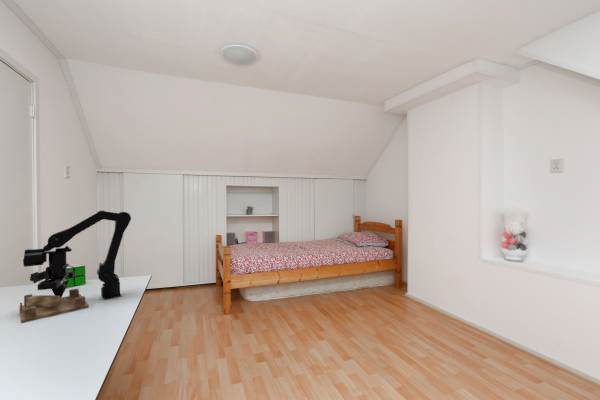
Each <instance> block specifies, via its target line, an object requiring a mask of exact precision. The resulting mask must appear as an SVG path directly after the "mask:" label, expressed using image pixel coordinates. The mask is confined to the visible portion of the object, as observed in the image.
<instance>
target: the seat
mask: <svg viewBox="0 0 600 400" xmlns="http://www.w3.org/2000/svg"><path fill="white" fill-rule="evenodd" d="M79 290H80V289H79V288H72V289H69V290H68V291H69V292H68V293H69V294H68V296H62V297H61V299H60V304H59V305H57V306H54V307H39V306H24V304H23V303H22V302H19V314H20V315H19V317H20V322H21V324H23V323H27V322H33V321H37V320H39V319H40V320H41V319H44V318H45V319H46V318H49V317H54V316H58V315H59V316H60V315H63V314H67V313H72V312H76V311H79V310H80V311H81V310H83V309H89V308H90V305H89V303H88V302H87V301H86V297H85V295H82V294H80V291H79Z"/></svg>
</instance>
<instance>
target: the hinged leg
mask: <svg viewBox="0 0 600 400" xmlns="http://www.w3.org/2000/svg"><path fill="white" fill-rule="evenodd" d="M59 304H60V295H54V294H53V295H49V294H48V295H47V294H46V295H45V294H44V295H41V294H40V295H39V294H38V295H35V294H34V295H33V294H25V295H23V305H24V306H39V307H54V306H57V305H59Z"/></svg>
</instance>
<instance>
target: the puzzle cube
mask: <svg viewBox="0 0 600 400" xmlns="http://www.w3.org/2000/svg"><path fill="white" fill-rule="evenodd" d="M67 271H75V272H76V277H74V278H72V277H67V278H65V279H66V281H70V282H69V284H68V285H67V287H66V289H69V288H74V287H78V286H82V285H84V286H85V284H86V281H87V280H86V265H84V264H81V263H72V264H69V266H68V267H67Z"/></svg>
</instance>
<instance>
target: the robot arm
mask: <svg viewBox="0 0 600 400" xmlns="http://www.w3.org/2000/svg"><path fill="white" fill-rule="evenodd" d="M131 219H132V217H131V214H130V213H129V212H126V211H120V212H114V211H113V212H112V211H111V212H110V211H106V210H98V211H97V212H96V213H94V214H91V216H89V217H87V218H85V219H83V220H82V221H80V222H78V223H77V224H75V225H73V226H70V227H69V228H66V229H63V230H60V231H58V232H55V233H53V234H52V235H51V234H50V236H49V237H48V239H47V244H45V245H44V246H43V248H36V249H35V248H34V249H29V248H28V249H25V250H24V255H23V259H22V263H23V267H24V268H26V267H28V268H29V267H34V266H42V265H44V263H47V261H48V266H47V267H45V270H43V271H41V272H38V271H36V272H33V273H31V274H30V277H29V281H31V282H32V283H33V284H36V283H38V282H39V283H38V284H37V286H36V287H37V291H42V290H43V291H45V290H51V292H52V293H53V295H60V299H61V298H62V297H63V295H64V293H65V291H66V289H67V288H66V287H67V285H68V284H69V282H70V281H66V279H65V278H67V277H72V278H74V277H76V272H75V271H67V267H68V266H69V265H70V264H69V263H67V253H68V252H69V253H70V252H72V251H73V249H72V248H71V247H69V245H66V244H67V243H68V242H69V241H70V240H71V239H73V238H74V237H75V236H77V235H78V234H80V233H81V232H83V231H85V230H87V229H88V228H90V227H92V226H94V225H96V224H97V223H99V222H101V221H102V220H105V221H112V222H114V231H113V234H112V238H111V242H110V244H109V248H108V251H107V254H106V257H105V259H104V261H103V263H102V262H99V264H98V269H97V270H96V274H97V276H98V280H99V281H100V282H102V287H100V294H101V296H100V297H101V298H103V299H104V300H110V299H113V298H119V297H121V296H122V294H121V282H120V278H119V276H118V274H116V273H115V269H116V267H115V266H116V265H115V264H116V259H117V257H118V253H119V250H120V249H119V248H120V245H121V242H122V240H123V236H124V234H125V231H126V230H127V228H128V227H129V224H130V222H131ZM64 245H66V246H65V247H63V246H64ZM53 249H55V250H53ZM51 250H52V251H51Z"/></svg>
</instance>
